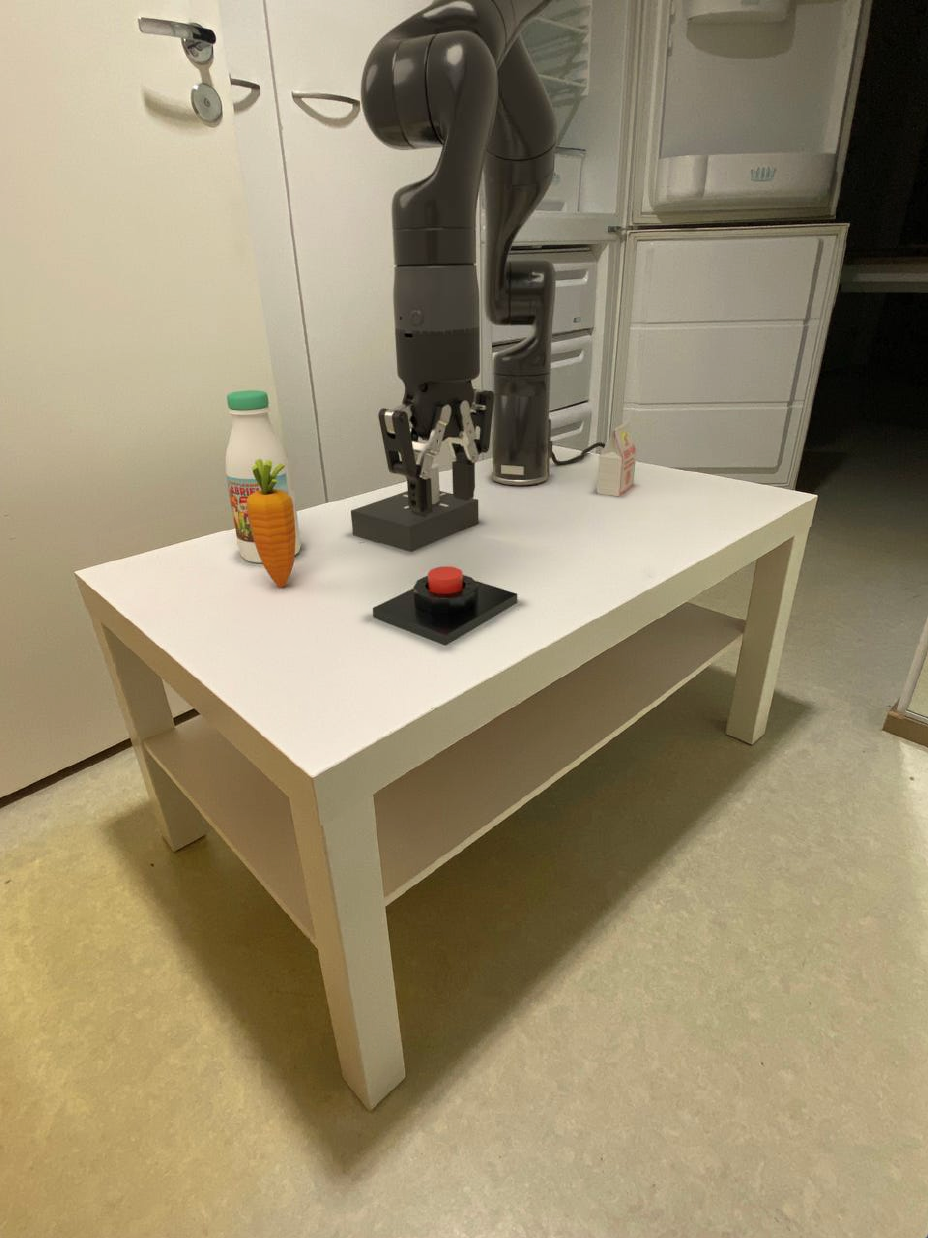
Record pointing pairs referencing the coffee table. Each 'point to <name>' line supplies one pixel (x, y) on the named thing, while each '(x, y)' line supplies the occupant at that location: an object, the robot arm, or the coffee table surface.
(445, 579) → the power button
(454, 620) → the power switch
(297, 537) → the milk bottle
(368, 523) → the panel
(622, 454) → the milk carton
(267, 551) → the carrot
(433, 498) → the timer knob
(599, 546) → the coffee table surface
